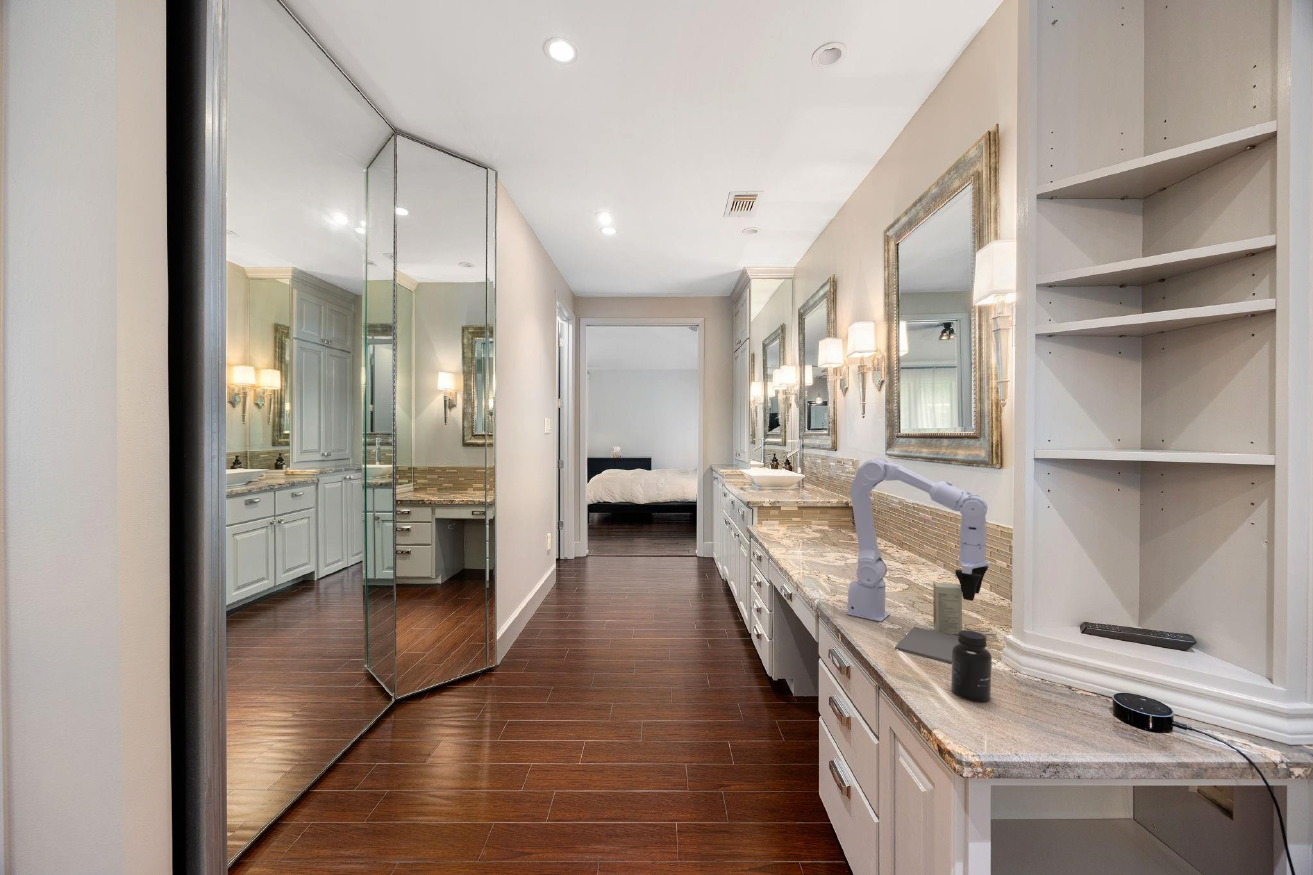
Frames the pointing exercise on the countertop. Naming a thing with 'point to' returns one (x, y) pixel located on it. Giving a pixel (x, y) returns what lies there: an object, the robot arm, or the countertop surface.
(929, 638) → the mat
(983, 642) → the supplement bottle
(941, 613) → the skincare box
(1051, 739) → the countertop surface
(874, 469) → the robot arm
